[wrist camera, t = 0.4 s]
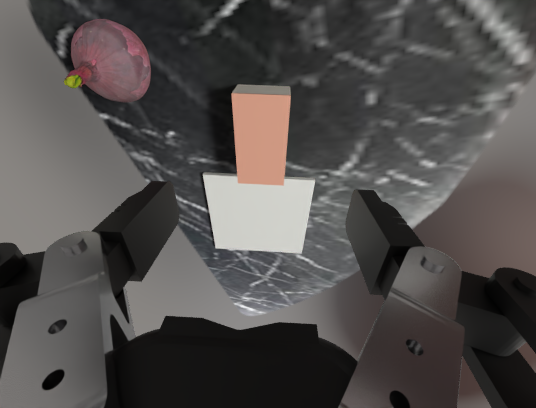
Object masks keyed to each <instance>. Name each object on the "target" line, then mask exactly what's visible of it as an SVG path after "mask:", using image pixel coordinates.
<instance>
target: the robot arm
mask: <svg viewBox="0 0 536 408" xmlns="http://www.w3.org/2000/svg"><path fill="white" fill-rule="evenodd" d="M178 221H179V209H178V205H177V200H176V196H175V191H174V187H173V185H172V183H171V182H163V181H152V182H150V183H149V184H148V185H147V186H146V187H145V188H144V189H143V190H142V191H140V192H138V193H136V194H134V195H132V196H131V197H128V198H127V199H126V200H125V201H124V202H123V203H122V204H121V206H119V207H117V208H116V209H115V211H114V212H112V213H111V214H110V215H109V216H108V217H106V219H104V220H103V221H102V222H101V223H100V224H99V225H98V226H97V227H95V228H94V229H93V230H92V231H83V232H78V233H73V234H71V235H68V236H65V237H63V238H61V239H59V240H57V241H56V242H54V243H53V244H52V245H50V246H49V247H48V249H47V250H46V251H44V252H38V253H32V254H26V255H23V254H22V253H21V251H20V250H19V249H18V247H17V246H16V245H15V244H13V243H0V408H457V403H458V394H459V384H460V374H461V364H462V356H463V357H464V359H465V361H466V363H467V364H468V366H469V368H470V370H471V371H472V373H473V375H474V377H475V379H476V380H477V382H478V384H479V386H480V387H481V389H482V391H483V393H484V395H485V396H486V398H487V400H488V402H489V404H490V405H491V407H492V408H536V373H535V372H534V370H533V369H532V368H531V367H530V365H529V364H528V363H527V361H526V360H525V359H524V358H523V356H522V355H521V353H520V352H519V351H518V348H520V347H521V346H522V345H523V344H524V343H526V342H527V343H528V344H529V345H530V347H531V348H532V349H533V351H534V352H535V353H536V276H534V275H532V274H529V273H527V272H524V271H521V270H518V269H513V268H499V269H497V270H496V271H495V272H494V273H493V275H492V276H491V277H490V278H486V277H483V276H479V275H475V274H471V273H468V272H464V271H461V269H460V267H459V266H458V265H457V263H456V262H455V261H454V260H453V259H451V258H450V257H449V256H447V255H446V254H444V253H442V252H440V251H438V250H435V249H432V248H428V247H425V246H424V245H423V243H422V242H421V241H420V240H419V238H418V237H417V236H416V234H415V233H414V232H413V230H412V229H411V228H410V227H409V225H407V223H406V221H405V220H404V219H403V218H402V216H401V215H400V214H399V212H398V211H397V210H396V209H395V208H394V207H392V206H391V205H389V204H388V203H386V202H382V201H381V199H380V198H379V197H378V195H377V194H376V192H375V191H374V190H354V192H353V194H352V198H351V202H350V206H349V210H348V214H347V218H346V232H347V235H348V238H349V240H350V243H351V245H352V248H353V251H354V253H355V256H356V258H357V261H358V264H359V266H360V269H361V271H362V274H363V277H364V279H365V282H366V284H367V287H368V290H369V292H370V294H375V295H383V297H384V300H385V301H384V303H383V305H382V307H381V309H380V312H379V314H378V316H377V318H376V320H375V323H374V325H373V327H372V329H371V332H370V334H369V336H368V338H367V340H366V342H365V345H364V347H363V349H362V351H361V353H360V356H359V358H358V360H357V361H356V360H355V359H354V358H353V357H352V356H351V355H349V354H348V353H347V352H346V351H344V350H343V349H341V348H340V347H338V346H336V345H335V344H333V343H331V342H329V341H327V340H325V339H322V338H319V337H318V331H317V325H316V324H300V323H282V322H279V323H273V324H268V325H263V326H258V327H254V328H249V329H244V330H236V329H233V328H230V327H227V326H224V325H221V324H218V323H215V322H212V321H209V320H206V319H204V318H193V317H175V316H166V317H165V319H164V321H163V323H162V325H161V328H160V329H157V330H153V331H150V332H147V333H145V334H142V335H140V336H137V337H136V335H135V331H134V327H133V322H132V317H131V313H130V307H129V302H128V297H127V292H126V289H125V287H124V286H125V284H126V283H127V281H142V280H143V278H144V277H145V275H146V274H147V272H148V270H149V269H150V267H151V266H152V264H153V262H154V261H155V259H156V258H157V256H158V254H159V253H160V251H161V250H162V248H163V246H164V245H165V243H166V242H167V240H168V238H169V237H170V235H171V234H172V232H173V230H174V229H175V227H176V226H177V224H178Z"/></svg>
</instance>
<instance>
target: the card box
mask: <svg viewBox="0 0 536 408" xmlns="http://www.w3.org/2000/svg"><path fill="white" fill-rule="evenodd" d="M231 94H232V108H233V122H234V136H235V150H236V164H237V178H238V183H241V184H262V185H282V186H284V175H285V162H286V150H287V137H288V124H289V111H290V99H291V93H290V86H265V85H237V86H236V88H235V89H234V90H233V92H232V93H231Z"/></svg>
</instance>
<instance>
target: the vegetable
mask: <svg viewBox="0 0 536 408" xmlns="http://www.w3.org/2000/svg"><path fill="white" fill-rule="evenodd" d="M71 57H72V61H73V65H74V67H75V69H74V70H73V71H71V72H70V73H69V74H68V76H67V77H66V79H65V80H64V83H65V85H68V86H69V87H71V88H77V87H78V86H80V87H82V85H83V84H86V85H87V86H88V87H89V88H90V89H92V90H93V91H94V92H96V93H97V94H99V95H101V96H103V97H104V98H107V99H110V100H114V101H119V102H132V101H136V100H138V99H140V98H141V97H142V96H143V95H144V94H145V92H146V91H147V89H148V87H149V83H150V77H151V67H150V61H149V56H148V52H147V50H146V48H145V46H144V44H143V43H142V41H141V40H140V39H139V37H138V36H137V35H136V34H135V33H133V32H132V31H131V30H130V29H128V28H126V27H125V26H123V25H120V24H118V23H116V22H113V21H110V20H106V19H96V20H92V21H90V22H86V23H84V24H83V25H81V26H80V27H79V28H78V29H77V31H76V32H75V34H74V36H73V39H72V42H71Z"/></svg>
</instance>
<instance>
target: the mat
mask: <svg viewBox="0 0 536 408" xmlns="http://www.w3.org/2000/svg"><path fill="white" fill-rule="evenodd" d="M203 179H204V184H205V190H206V196H207V201H208V207H209V213H210V218H211V224H212V230H213V235H214V241H215V247H216V248H222V249H238V250H255V251H271V252H288V253H302V249H303V243H304V238H305V232H306V227H307V222H308V216H309V211H310V205H311V200H312V195H313V189H314V184H315V178H305V177H285V176H284V186H282V185H262V184H241V183H238V178H237V174H228V173H208V172H204V173H203Z"/></svg>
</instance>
